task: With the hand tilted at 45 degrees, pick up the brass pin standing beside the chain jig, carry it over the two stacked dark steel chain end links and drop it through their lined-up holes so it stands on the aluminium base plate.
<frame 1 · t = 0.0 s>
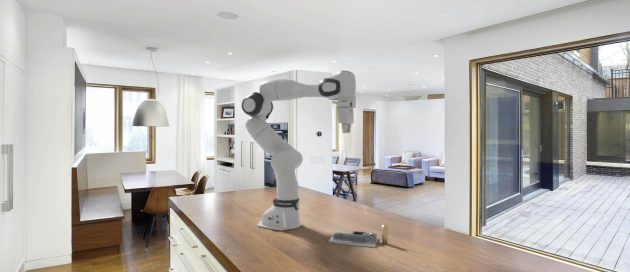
hand: (346, 133, 164), 48 cm above the worktop, tool pointing down, fingers open, 8 cm apart
brass pin: (384, 243, 146), on the worktop
chain jig: (354, 240, 150), on the worktop
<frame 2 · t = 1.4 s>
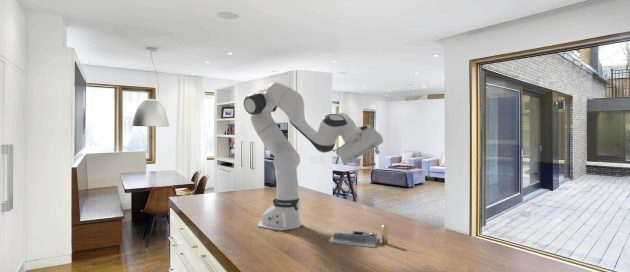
hand: (368, 158, 142), 37 cm above the worktop, tool tilted 55°, fingers open, 8 cm apart
nothing on the worktop moved.
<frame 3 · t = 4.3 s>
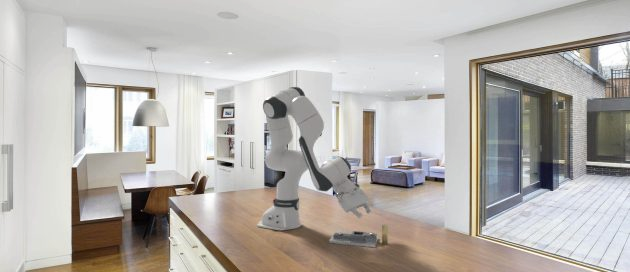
hand: (365, 214, 150), 12 cm above the worktop, tool tilted 45°, fingers open, 8 cm apart
nothing on the worktop moved.
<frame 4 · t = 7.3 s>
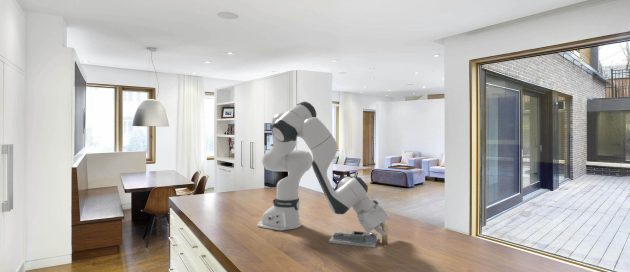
hand: (386, 233, 146), 4 cm above the worktop, tool tilted 45°, fingers closed on brass pin, 2 cm apart
brass pin: (384, 243, 146), on the worktop, touching gripper
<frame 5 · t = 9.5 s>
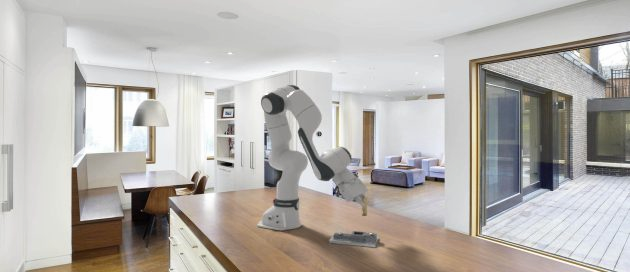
hand: (365, 204, 151), 16 cm above the worktop, tool tilted 45°, fingers closed on brass pin, 2 cm apart
brass pin: (364, 215, 151), point 11 cm above the worktop, touching gripper
when the fingers open (7 cm above the worktop, at t = 12.2 s): brass pin stays where it is, resting on chain jig.
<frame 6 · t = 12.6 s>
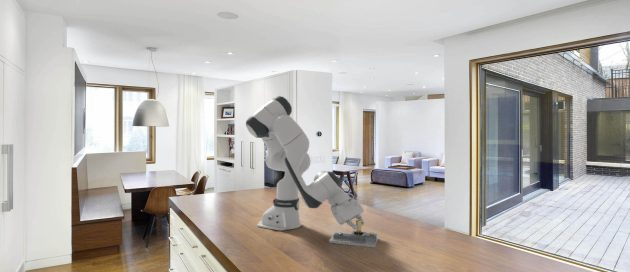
hand: (359, 226, 149), 7 cm above the worktop, tool tilted 45°, fingers open, 6 cm apart
brass pin: (358, 238, 150), point 1 cm above the worktop, touching chain jig
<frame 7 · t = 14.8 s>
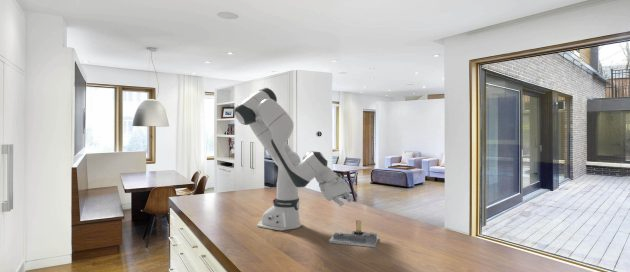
hand: (346, 203, 154), 16 cm above the worktop, tool tilted 45°, fingers open, 8 cm apart
nothing on the worktop moved.
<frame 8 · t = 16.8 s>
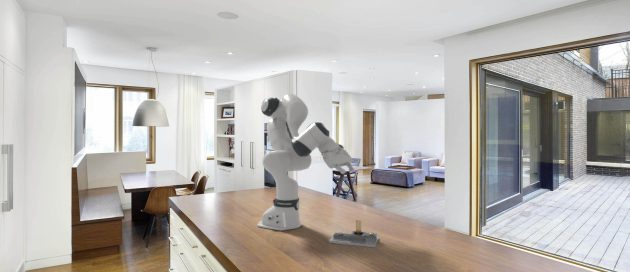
hand: (348, 171, 160), 29 cm above the worktop, tool tilted 45°, fingers open, 8 cm apart
nothing on the worktop moved.
at the end: brass pin 0.0 cm from the target spot on the chain jig, point 1.0 cm above the chain jig's base; brass pin tilted 0°; the gripper is holding nothing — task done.
